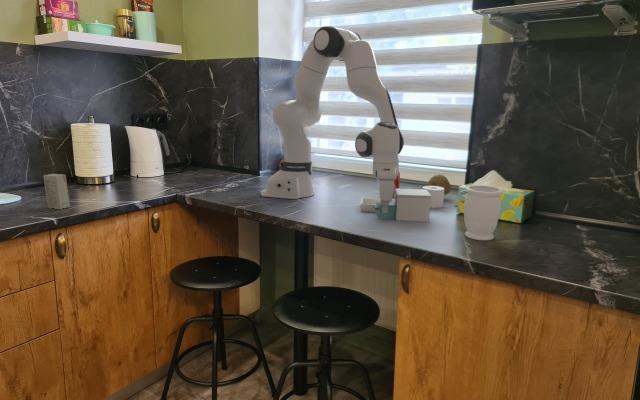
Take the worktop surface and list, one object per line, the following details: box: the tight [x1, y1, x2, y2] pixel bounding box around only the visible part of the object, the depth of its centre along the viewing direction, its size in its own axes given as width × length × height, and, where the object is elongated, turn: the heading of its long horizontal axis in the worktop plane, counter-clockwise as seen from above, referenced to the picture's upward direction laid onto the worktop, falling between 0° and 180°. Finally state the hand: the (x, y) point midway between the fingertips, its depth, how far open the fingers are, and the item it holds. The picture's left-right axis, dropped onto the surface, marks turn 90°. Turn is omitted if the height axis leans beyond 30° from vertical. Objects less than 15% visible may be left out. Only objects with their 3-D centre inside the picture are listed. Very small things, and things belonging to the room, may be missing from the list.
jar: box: [463, 185, 503, 242], centre depth 137 cm, size 11×10×15 cm
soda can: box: [392, 168, 401, 199], centre depth 187 cm, size 7×7×12 cm
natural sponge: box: [428, 174, 452, 196], centre depth 187 cm, size 9×9×10 cm
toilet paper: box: [422, 185, 445, 209], centre depth 175 cm, size 8×11×7 cm
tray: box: [360, 197, 395, 213], centre depth 170 cm, size 16×10×3 cm, turn 85°
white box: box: [395, 188, 431, 222], centre depth 158 cm, size 11×10×9 cm
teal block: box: [374, 202, 397, 220], centre depth 159 cm, size 13×5×5 cm, turn 95°
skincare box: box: [42, 173, 71, 210], centre depth 164 cm, size 6×4×12 cm
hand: (384, 208), depth 159 cm, fingers open, 8 cm apart
